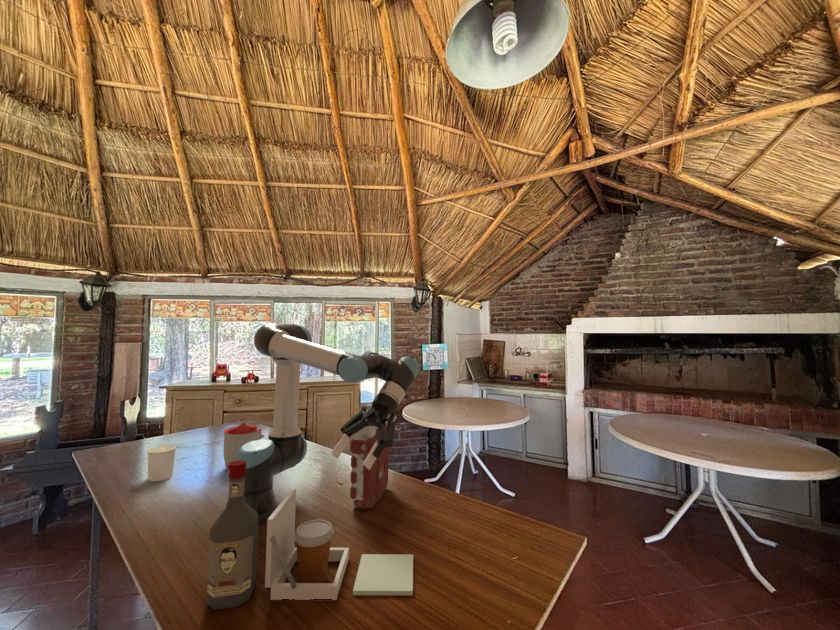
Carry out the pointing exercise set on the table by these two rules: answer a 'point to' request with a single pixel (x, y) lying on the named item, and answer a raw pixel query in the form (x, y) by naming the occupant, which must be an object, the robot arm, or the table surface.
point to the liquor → (233, 547)
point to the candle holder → (161, 462)
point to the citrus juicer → (238, 440)
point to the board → (384, 575)
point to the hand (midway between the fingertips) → (349, 461)
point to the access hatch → (294, 558)
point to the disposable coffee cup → (313, 550)
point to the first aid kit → (363, 480)
